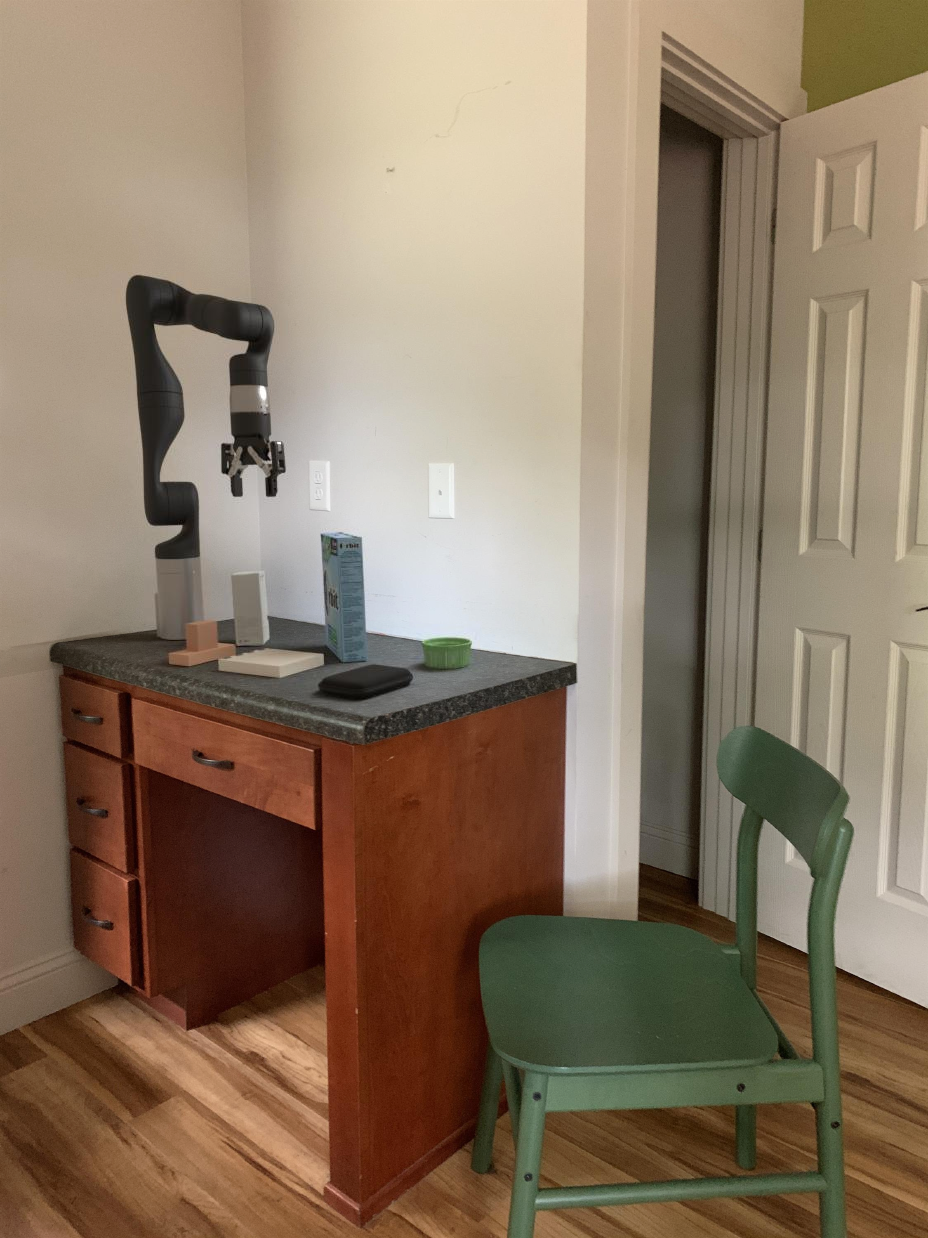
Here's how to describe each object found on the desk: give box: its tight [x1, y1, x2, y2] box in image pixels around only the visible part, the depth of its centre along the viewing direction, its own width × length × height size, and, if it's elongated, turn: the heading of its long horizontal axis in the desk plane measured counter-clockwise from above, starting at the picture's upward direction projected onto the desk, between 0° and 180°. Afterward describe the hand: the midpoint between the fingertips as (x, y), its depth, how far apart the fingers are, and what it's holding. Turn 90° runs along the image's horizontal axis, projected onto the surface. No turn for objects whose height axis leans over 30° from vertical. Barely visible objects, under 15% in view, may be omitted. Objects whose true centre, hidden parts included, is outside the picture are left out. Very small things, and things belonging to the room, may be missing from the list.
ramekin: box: [421, 636, 473, 670], centre depth 162 cm, size 9×9×4 cm
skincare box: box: [230, 570, 270, 647], centre depth 187 cm, size 8×6×15 cm
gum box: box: [320, 531, 368, 663], centre depth 173 cm, size 20×5×23 cm, turn 17°
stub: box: [168, 619, 237, 667], centre depth 170 cm, size 5×12×7 cm, turn 151°
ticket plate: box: [217, 647, 325, 679], centre depth 162 cm, size 14×12×2 cm
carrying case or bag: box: [317, 663, 414, 701], centre depth 145 cm, size 11×3×15 cm
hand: (254, 496), depth 176 cm, fingers open, 8 cm apart
